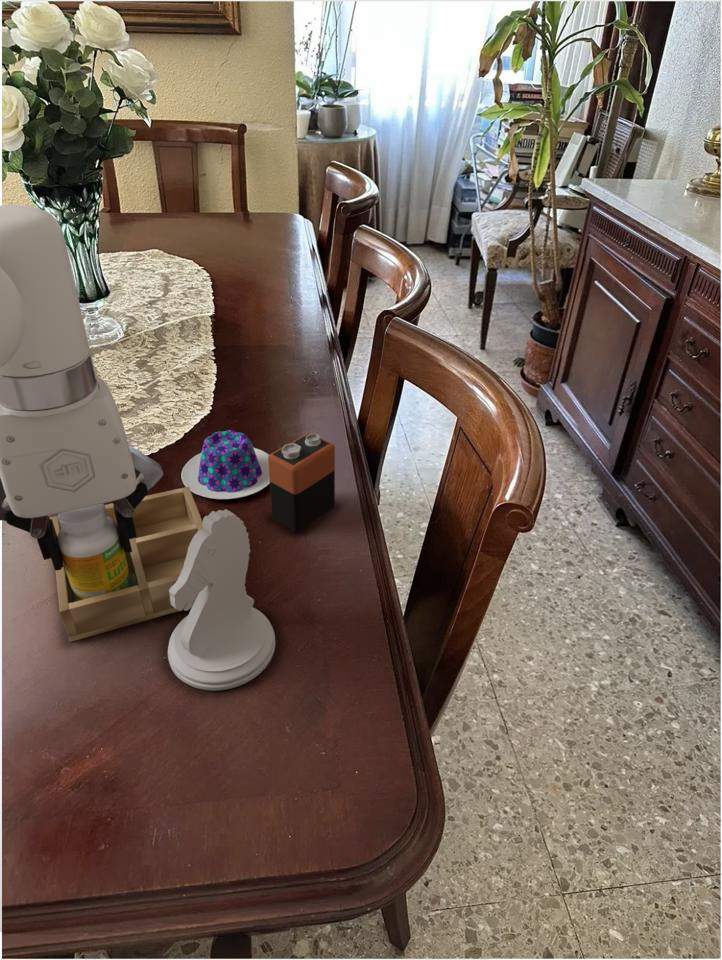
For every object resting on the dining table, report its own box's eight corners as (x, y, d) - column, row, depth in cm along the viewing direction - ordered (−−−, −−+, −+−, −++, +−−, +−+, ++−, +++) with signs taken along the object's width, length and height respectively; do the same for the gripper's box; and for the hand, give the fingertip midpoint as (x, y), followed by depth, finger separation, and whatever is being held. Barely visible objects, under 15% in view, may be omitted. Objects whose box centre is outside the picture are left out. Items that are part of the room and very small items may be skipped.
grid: (70, 642, 62) (59, 611, 60) (58, 546, 73) (49, 517, 70) (225, 597, 67) (221, 568, 65) (193, 514, 78) (188, 486, 76)
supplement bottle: (122, 609, 63) (101, 530, 57) (65, 607, 63) (38, 528, 57) (138, 570, 67) (120, 493, 61) (85, 568, 67) (62, 491, 61)
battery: (270, 519, 77) (265, 447, 72) (310, 493, 82) (308, 423, 76) (297, 535, 75) (294, 462, 69) (336, 508, 80) (336, 437, 74)
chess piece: (146, 651, 61) (115, 526, 52) (227, 593, 67) (211, 473, 59) (216, 710, 56) (195, 583, 48) (297, 642, 62) (291, 518, 54)
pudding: (171, 463, 87) (165, 428, 84) (258, 442, 91) (255, 409, 88) (197, 514, 78) (191, 478, 75) (291, 488, 83) (290, 453, 80)
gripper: (-86, 420, 46) (-8, 605, 56) (164, 380, 52) (193, 553, 62) (-77, 375, 51) (-8, 551, 62) (148, 343, 57) (176, 508, 68)
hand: (92, 550), depth 62 cm, fingers closed on supplement bottle, 5 cm apart
